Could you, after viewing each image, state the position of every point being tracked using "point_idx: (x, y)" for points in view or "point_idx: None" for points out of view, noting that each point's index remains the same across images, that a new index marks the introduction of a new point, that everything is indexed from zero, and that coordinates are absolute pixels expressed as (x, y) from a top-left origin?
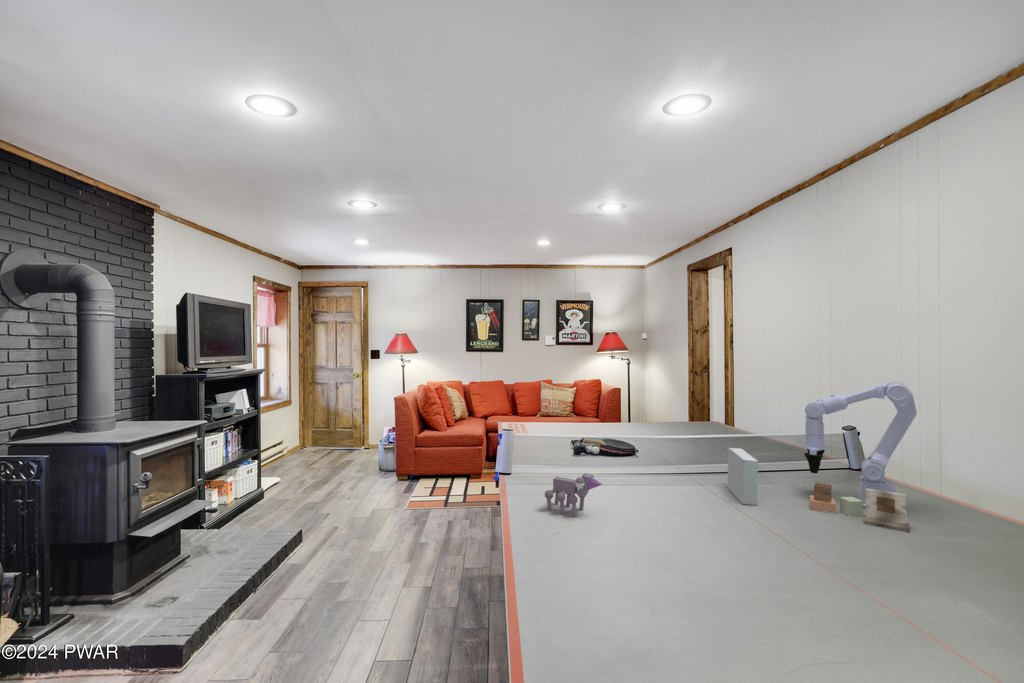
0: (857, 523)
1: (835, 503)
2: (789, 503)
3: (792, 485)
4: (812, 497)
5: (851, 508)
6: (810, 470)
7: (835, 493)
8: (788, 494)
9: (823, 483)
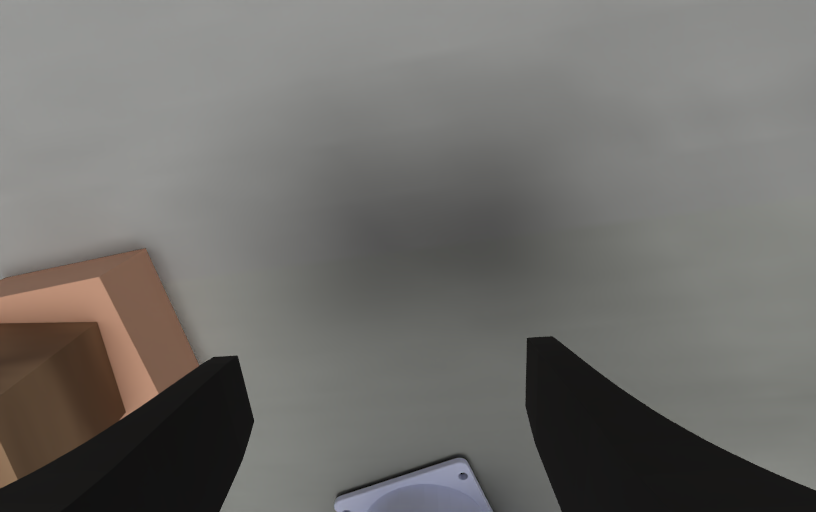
0: None
1: None
2: (13, 120)
3: (644, 20)
4: (44, 304)
5: None
6: (188, 375)
7: None
8: (279, 55)
9: (10, 465)
